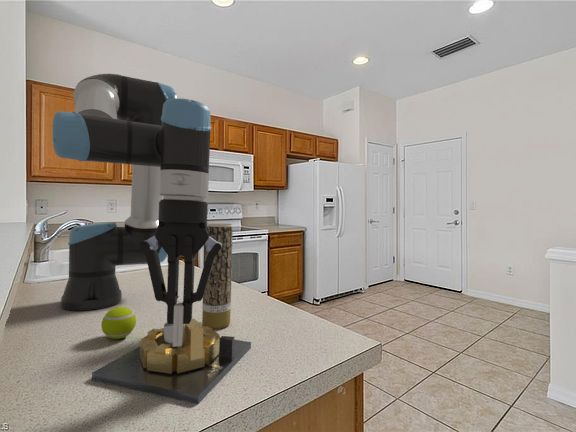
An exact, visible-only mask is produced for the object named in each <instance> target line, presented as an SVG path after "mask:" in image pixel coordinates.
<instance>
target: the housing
mask: <svg viewBox="0 0 576 432" xmlns="http://www.w3.org/2000/svg"><path fill="white" fill-rule="evenodd" d="M196 321H197V322H199V321H198V320H196ZM163 328H164V344H169V345H172V349H181V348H182V346H176V347H173V324H168V323H167V321H166V322H165V323H164V325H163ZM251 348H252V341H246V340H240V339H235V336H227V335H222V336H220V339H219V354H218V355H217V356H216V357H215V358H214V359H213V360H212V361H211V362H210V363H209V364H205V367H201V368H197V369H193V370H189V371H185V372H181V373H177V372H176V370H175V371H174V372H173V373H172V374H169V373H163V372H156V371H149V370H147V368H144V367H143V365H142V362H141V360H140V345H139V346H137V347H135V348H134V349H131V350H130V351H128V352H126V353H124V354H123V355H121V356H119V357H117V358H115V359H114V360H112V361H110V362H109V363H107V364H105V365H104V366H101V367H100V368H98V369H96V370H94V371H93V372H92V373H91V381H96V382H99V383H103V384H109V385H114V386H119V387H122V388H127V389H131V390H136V391H140V392H144V393H149V394H153V395H158V396H162V397H166V398H171V399H175V400H181V401H185V402H188V403H195V404H198V405H199V404H200V403H201V402H202V401H203V399H205V398H206V396H208V394H209V393H211V392H212V390H213V389H214V388H215V387H216V386H217V385H218V384H219V383H220V381H222V379H224V377H225V376H226V375H227V374H228V373H229V372H230V371H231V370H232V369H233V368H234V366H236V364H237V363H239V361H240V360H241V359H242V358H243V357H244V356H245V355H246V354H247V353H248V352H249V350H251Z"/></svg>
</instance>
